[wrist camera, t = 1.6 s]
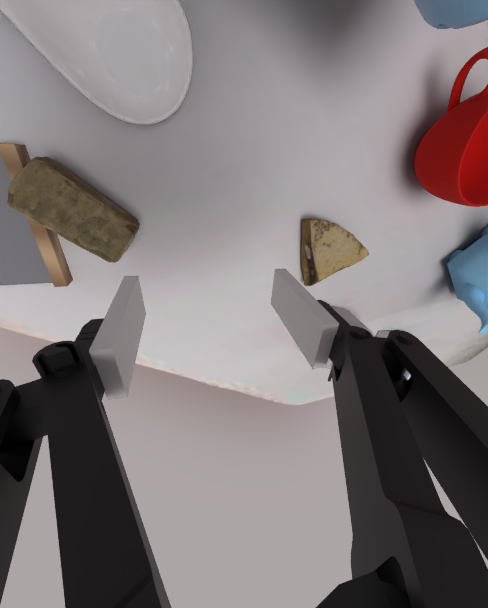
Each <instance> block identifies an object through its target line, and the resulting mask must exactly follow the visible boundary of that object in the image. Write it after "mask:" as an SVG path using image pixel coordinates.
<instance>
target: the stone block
mask: <svg viewBox="0 0 488 608" xmlns="http://www.w3.org/2000/svg"><path fill="white" fill-rule="evenodd" d="M7 204H8V205H9V207H11V208H13V209H15V210H17V211H19V212H21V213H23V214H25V215H27V216H29V217H31V218H32V219H33V220H34V221H36V222H37V223H38V224H40V225H42V226H44V227H46V228H48V229H50V230H52V231H53V232H55V233H57V234H58V235H60V236H62V237H64V238H65V239H67V240H69V241H71V242H73V243H74V244H76V245H78V246H80V247H82V248H83V249H85V250H87V251H89V252H91V253H93V254H95V255H97V256H99V257H101V258H102V259H104V260H106V261H108V262H117V261H118V260H119V259H120V258H121V257H122V255H123V253H124V252H126V250H127V249H128V247H129V245H130V243H131V242H132V240H133V239H134V237H135V234H136V232H137V231H138V228H139V222H138V220H137V219H135V218H134V217H132V216H131V215H129V214H128V213H127V212H125V211H124V210H122V209H121V208H119V207H118V206H117V205H115V204H114V203H112V202H111V201H110V200H108V199H107V198H105V197H104V196H102V195H101V194H99V193H98V192H96V191H95V190H94V189H92V188H91V187H90V186H88V185H87V184H85V183H84V182H83V181H81V180H80V179H79V178H78V177H76V176H75V175H74V174H73V173H71V172H70V171H69V170H67V169H66V168H64V167H63V166H61V165H60V164H58V163H56V162H55V161H53V160H52V159H50V158H48V157H35V158H34V159H32V160H31V161H30V162H29V163H28V164H27V165H26V166H25V168H24V169H23V170H22V171H20V172H18V173H17V174H16V175H15V176H14V177H13V179H12V180H11V182H10V185H9V188H8V201H7Z"/></svg>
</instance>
